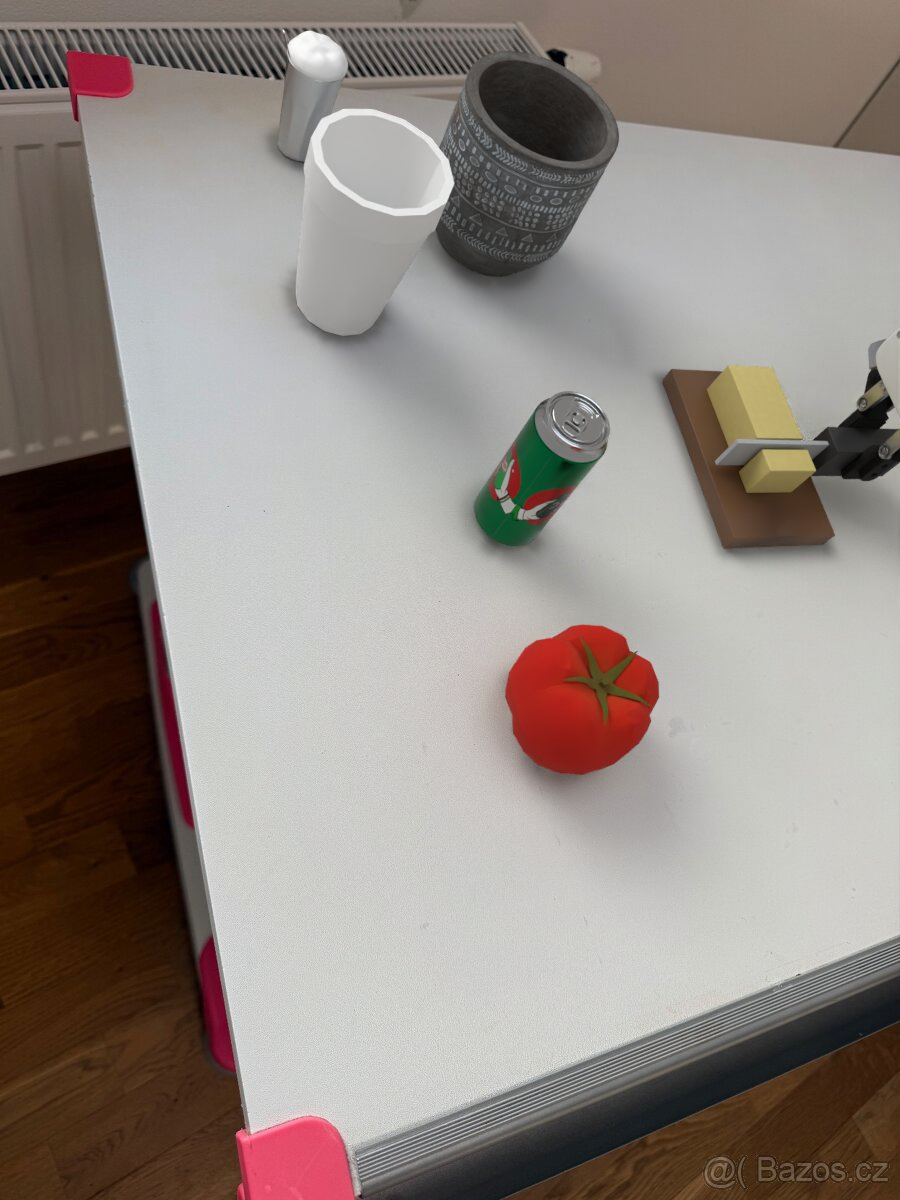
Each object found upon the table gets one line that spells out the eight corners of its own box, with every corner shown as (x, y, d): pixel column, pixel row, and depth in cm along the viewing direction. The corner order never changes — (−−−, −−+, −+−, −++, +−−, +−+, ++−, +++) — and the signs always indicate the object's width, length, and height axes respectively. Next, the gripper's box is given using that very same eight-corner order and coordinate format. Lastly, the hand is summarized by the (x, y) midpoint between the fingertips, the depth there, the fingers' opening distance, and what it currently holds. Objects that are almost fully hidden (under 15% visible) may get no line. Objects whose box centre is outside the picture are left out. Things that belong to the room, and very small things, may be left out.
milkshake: (251, 126, 78) (273, 8, 70) (313, 127, 80) (342, 14, 72) (269, 168, 77) (293, 53, 68) (331, 168, 79) (362, 56, 71)
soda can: (548, 517, 70) (628, 419, 60) (517, 563, 67) (595, 469, 57) (491, 476, 70) (562, 371, 60) (458, 521, 67) (526, 419, 57)
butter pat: (782, 471, 78) (807, 449, 76) (791, 492, 78) (817, 470, 75) (737, 471, 77) (762, 448, 74) (746, 493, 76) (770, 471, 73)
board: (757, 384, 85) (767, 373, 83) (823, 544, 79) (835, 535, 77) (661, 380, 81) (671, 368, 80) (723, 548, 75) (734, 538, 73)
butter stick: (749, 391, 82) (773, 366, 79) (778, 461, 79) (803, 438, 76) (706, 389, 80) (728, 364, 77) (733, 461, 77) (757, 437, 74)
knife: (871, 452, 83) (901, 428, 80) (882, 476, 82) (912, 453, 79) (710, 450, 76) (736, 423, 73) (720, 476, 75) (747, 450, 72)
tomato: (507, 792, 60) (558, 756, 53) (479, 659, 63) (524, 609, 57) (637, 779, 63) (700, 743, 57) (604, 653, 67) (659, 606, 60)
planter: (384, 201, 79) (433, 60, 68) (493, 173, 85) (554, 39, 75) (470, 312, 77) (534, 184, 66) (575, 274, 83) (650, 152, 72)
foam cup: (250, 270, 71) (283, 119, 60) (352, 242, 76) (400, 98, 65) (319, 367, 69) (366, 230, 58) (420, 333, 74) (480, 200, 63)
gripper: (1126, 406, 63) (918, 543, 79) (1017, 222, 69) (845, 383, 85) (1048, 403, 60) (848, 546, 76) (942, 211, 66) (777, 379, 82)
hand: (848, 459), depth 80 cm, fingers closed on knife, 2 cm apart
